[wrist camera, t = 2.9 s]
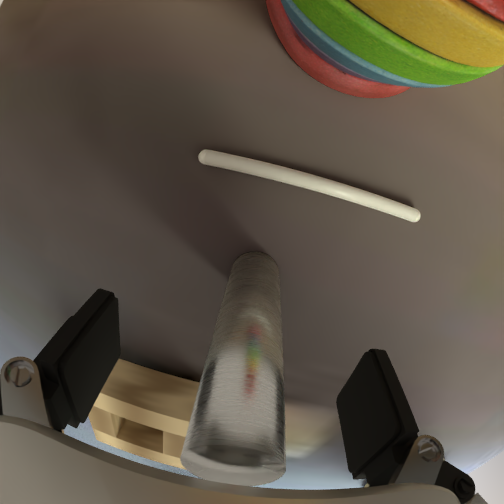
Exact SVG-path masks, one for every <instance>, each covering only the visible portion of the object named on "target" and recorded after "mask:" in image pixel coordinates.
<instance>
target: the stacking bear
mask: <svg viewBox="0 0 504 504" xmlns="http://www.w3.org/2000/svg"><path fill="white" fill-rule="evenodd" d="M266 4H267V9H268V13H269V16H270V19H271V22H272V24H273V27H274V29H275V31H276V33H277V36H278V38H279V39H280V41H281V43H282V44H283V46H284V48H285V49H286V51H287V52H288V54H289V55H290V56H291V58H292V59H293V60H294V61H295V62H296V63H297V64H298V65H299V66H300V67H301V68H302V69H303V70H304V71H305V72H306V73H307V74H309V75H310V76H311V77H313V78H314V79H316V80H317V81H319V82H321V83H322V84H324V85H326V86H328V87H330V88H332V89H335V90H337V91H340V92H342V93H345V94H349V95H352V96H357V97H365V98H384V97H390V96H393V95H397V94H399V93H402V92H404V91H406V90H408V89H409V88H411V87H427V88H433V87H445V86H451V85H454V84H461V83H465V82H468V81H471V80H474V79H477V78H480V77H482V76H484V75H487V74H489V73H491V72H493V71H495V70H497V69H498V68H500V67H501V66H503V65H504V0H266Z"/></svg>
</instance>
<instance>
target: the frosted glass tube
mask: <svg viewBox="0 0 504 504" xmlns="http://www.w3.org/2000/svg"><path fill="white" fill-rule="evenodd" d="M180 461H181V463H182V465H183V466H184V467H185V468H186V469H187V470H188V471H189V472H191V473H192V474H194V475H196V476H198V477H200V478H202V479H205V480H209V481H214V482H220V483H227V484H234V485H241V486H256V485H262V484H267V483H270V482H273V481H275V480H277V479H279V478H280V477H282V476H283V475H284V473H285V471H286V454H285V403H284V370H283V344H282V321H281V301H280V282H279V269H278V266H277V264H276V262H275V261H274V260H273V259H272V258H271V257H270V256H268V255H267V254H264V253H261V252H248V253H245V254H243V255H241V256H240V257H238V258H237V259H236V261H235V262H234V264H233V266H232V269H231V273H230V276H229V280H228V283H227V287H226V290H225V294H224V297H223V301H222V305H221V308H220V312H219V315H218V319H217V322H216V326H215V330H214V333H213V337H212V340H211V344H210V348H209V351H208V355H207V359H206V362H205V366H204V370H203V373H202V377H201V381H200V385H199V388H198V392H197V396H196V400H195V403H194V407H193V411H192V415H191V418H190V422H189V426H188V430H187V434H186V438H185V441H184V445H183V449H182V453H181V457H180Z"/></svg>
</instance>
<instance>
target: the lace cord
mask: <svg viewBox="0 0 504 504" xmlns="http://www.w3.org/2000/svg"><path fill="white" fill-rule="evenodd" d="M198 159H199V161H200V162H201V163H202V164H205V165H210V166H215V167H219V168H224V169H229V170H233V171H238V172H242V173H246V174H251V175H255V176H259V177H263V178H267V179H271V180H275V181H279V182H283V183H287V184H291V185H295V186H298V187H302V188H306V189H309V190H313V191H317V192H320V193H324V194H327V195H331V196H334V197H337V198H341V199H344V200H347V201H351V202H354V203H357V204H360V205H363V206H367V207H370V208H373V209H376V210H379V211H382V212H385V213H388V214H391V215H394V216H397V217H400V218H403V219H405V220H408V221H411V222H417V221H418V220H419V219H420V212H419V210H417V209H415V208H413V207H410V206H407V205H405V204H402V203H399V202H396V201H394V200H391V199H388V198H385V197H382V196H379V195H376V194H374V193H371V192H368V191H365V190H362V189H358V188H355V187H352V186H349V185H346V184H343V183H339V182H336V181H333V180H330V179H326V178H323V177H319V176H316V175H312V174H309V173H305V172H301V171H298V170H294V169H290V168H287V167H283V166H279V165H275V164H271V163H267V162H263V161H258V160H254V159H250V158H245V157H241V156H236V155H232V154H227V153H222V152H218V151H213V150H207V149H205V150H202V151H201V152H200V153H199V156H198Z"/></svg>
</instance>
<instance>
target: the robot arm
mask: <svg viewBox="0 0 504 504" xmlns="http://www.w3.org/2000/svg"><path fill="white" fill-rule="evenodd" d="M119 356H120V336H119V313H118V299H117V298H116V297H115V296H114V293H113V292H110V291H106V290H103V289H98V290H97V291H96V292H95V293H94V294H93V295H92V296H91V297H90V298H89V299H88V301H87V302H86V303H85V304H84V305H83V306H82V307H81V308H80V309H79V311H78V312H77V313H76V314H75V315H74V316H71V317H70V318H69V319H68V320H67V321H66V322H65V323H64V325H63V326H62V327H61V328H60V329H59V330H58V331H57V333H56V334H55V335H54V336H53V337H52V339H51V340H50V341H49V342H48V343H47V345H46V346H45V347H44V348H43V349H42V351H41V352H40V353H39V354H38V356H37V357H36V358H35V359H34V361H32V360H31V359H29V358H26V357H14V358H11V359H10V360H8V361H7V362H6V363H5V364H4V365H3V366H2V368H1V372H0V504H488V503H487V502H486V501H485V500H484V499H483V498H482V497H481V496H480V495H479V494H478V493H477V494H475V484H474V481H473V480H472V478H471V477H470V476H469V475H467V474H466V473H464V472H462V471H461V470H459V469H458V468H456V467H454V466H453V465H451V464H450V463H448V462H446V461H445V459H444V449H443V446H442V444H441V443H440V442H439V441H438V440H437V439H436V438H435V437H433V436H430V435H421V436H419V437H418V435H417V433H418V432H419V429H418V427H417V424H416V422H415V419H414V416H413V414H412V411H411V409H410V406H409V404H408V401H407V399H406V396H405V394H404V392H403V389H402V387H401V384H400V382H399V380H398V377H397V375H396V373H395V370H394V368H393V366H392V364H391V361H390V359H389V357H388V355H387V353H386V351H385V350H379V349H370V350H369V351H368V352H365V353H364V355H363V356H362V358H361V360H360V362H359V363H358V365H357V367H356V368H355V370H354V371H353V373H352V375H351V376H350V378H349V379H348V381H347V383H346V384H345V386H344V387H343V389H342V390H341V392H340V393H339V395H338V397H337V402H336V403H337V409H338V414H339V419H340V424H341V430H342V435H343V440H344V446H345V452H346V457H347V463H348V469H349V472H350V473H352V475H353V479H365V478H366V479H367V483H366V485H365V487H363V488H349V489H330V490H292V489H272V488H260V487H250V486H241V485H234V484H227V483H220V482H214V481H209V480H204V479H199V478H194V477H189V476H185V475H180V474H176V473H172V472H168V471H164V470H161V469H157V468H154V467H150V466H147V465H144V464H140V463H137V462H134V461H131V460H128V459H125V458H122V457H120V456H117V455H114V454H111V453H109V452H106V451H103V450H101V449H98V448H96V447H93V446H91V445H88V444H86V443H84V442H81V441H79V440H77V439H75V438H72V437H70V436H68V435H65V434H64V431H63V429H65V427H66V426H67V424H68V425H70V426H73V427H75V428H77V427H78V425H79V423H80V422H81V423H84V422H85V421H86V419H87V417H88V415H89V413H90V411H91V409H92V407H93V405H94V403H95V401H96V399H97V398H98V396H99V394H100V392H101V390H102V388H103V386H104V384H105V383H106V381H107V379H108V377H109V375H110V373H111V372H112V370H113V368H114V366H115V364H116V363H117V361H118V359H119Z"/></svg>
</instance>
